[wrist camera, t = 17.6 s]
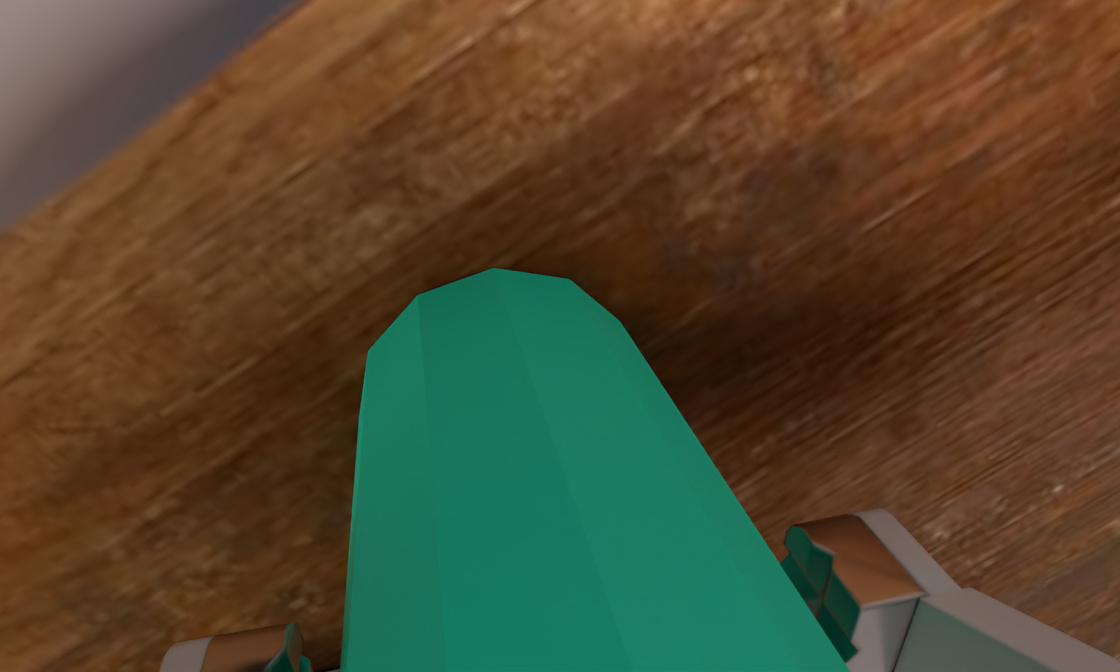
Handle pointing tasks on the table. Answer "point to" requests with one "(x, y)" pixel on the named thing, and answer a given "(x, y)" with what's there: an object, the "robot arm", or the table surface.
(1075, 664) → the robot arm
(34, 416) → the table surface
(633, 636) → the candle
